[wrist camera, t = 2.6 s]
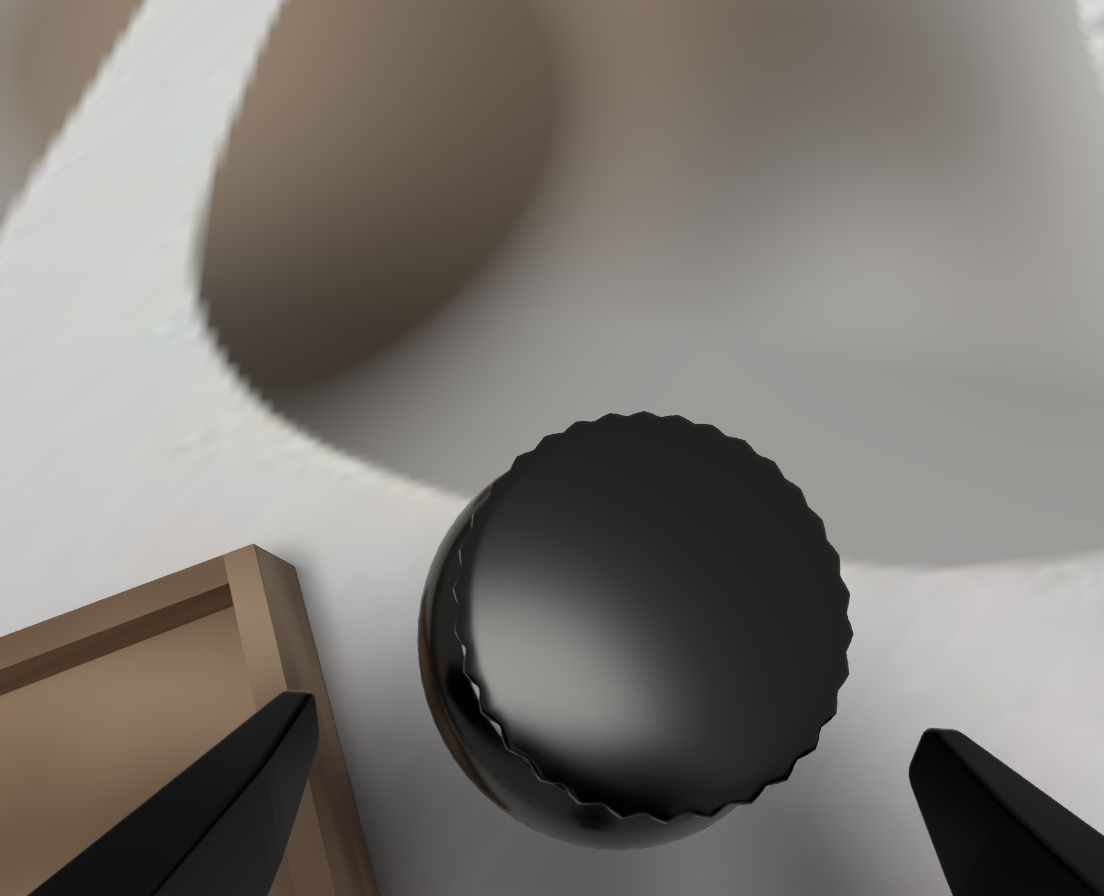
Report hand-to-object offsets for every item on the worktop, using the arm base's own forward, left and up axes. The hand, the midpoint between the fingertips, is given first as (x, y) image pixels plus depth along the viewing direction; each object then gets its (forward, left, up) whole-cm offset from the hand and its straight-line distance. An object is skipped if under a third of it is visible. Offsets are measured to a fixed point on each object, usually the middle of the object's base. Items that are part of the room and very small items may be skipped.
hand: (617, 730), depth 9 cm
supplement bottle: (+2, -1, -9) cm, 10 cm away
